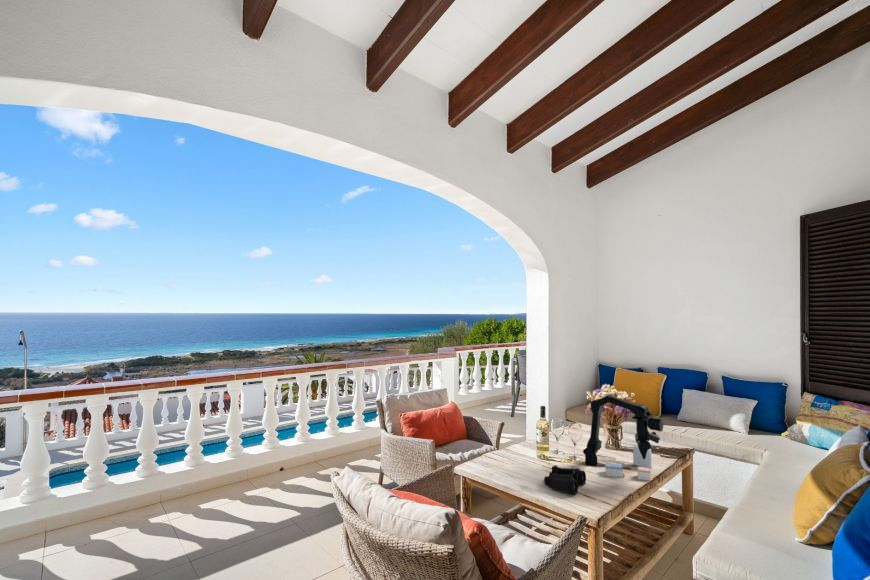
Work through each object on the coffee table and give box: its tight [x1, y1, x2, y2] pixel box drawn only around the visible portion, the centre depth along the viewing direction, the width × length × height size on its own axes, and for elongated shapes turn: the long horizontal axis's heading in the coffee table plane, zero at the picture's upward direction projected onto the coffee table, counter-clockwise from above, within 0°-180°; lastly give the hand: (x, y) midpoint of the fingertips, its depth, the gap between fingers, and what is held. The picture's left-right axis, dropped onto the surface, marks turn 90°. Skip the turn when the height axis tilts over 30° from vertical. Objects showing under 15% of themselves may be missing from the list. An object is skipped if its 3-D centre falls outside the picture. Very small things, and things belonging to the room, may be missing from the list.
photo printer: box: [632, 444, 653, 470], centre depth 245 cm, size 10×4×12 cm, turn 43°
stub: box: [636, 466, 652, 481], centre depth 227 cm, size 6×5×5 cm
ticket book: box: [604, 462, 626, 478], centre depth 233 cm, size 10×6×5 cm, turn 69°
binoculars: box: [543, 465, 587, 495], centre depth 219 cm, size 22×19×10 cm
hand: (643, 456), depth 228 cm, fingers open, 9 cm apart
